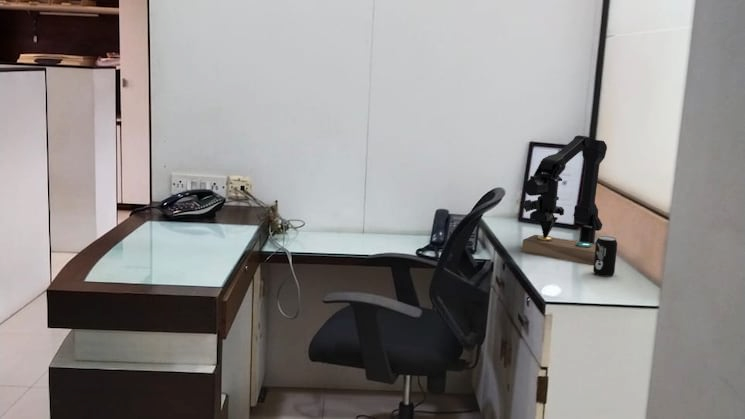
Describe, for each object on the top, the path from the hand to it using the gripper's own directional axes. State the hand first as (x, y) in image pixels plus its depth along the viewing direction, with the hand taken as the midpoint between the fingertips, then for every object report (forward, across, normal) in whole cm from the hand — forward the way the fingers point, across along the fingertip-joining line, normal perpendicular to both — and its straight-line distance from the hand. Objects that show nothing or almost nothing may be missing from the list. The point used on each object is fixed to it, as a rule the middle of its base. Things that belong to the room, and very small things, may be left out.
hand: (545, 236), depth 265 cm
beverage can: (+6, +16, +26) cm, 31 cm away
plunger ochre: (+6, 0, 0) cm, 6 cm away
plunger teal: (+6, 0, +14) cm, 15 cm away
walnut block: (+6, 0, +7) cm, 9 cm away
